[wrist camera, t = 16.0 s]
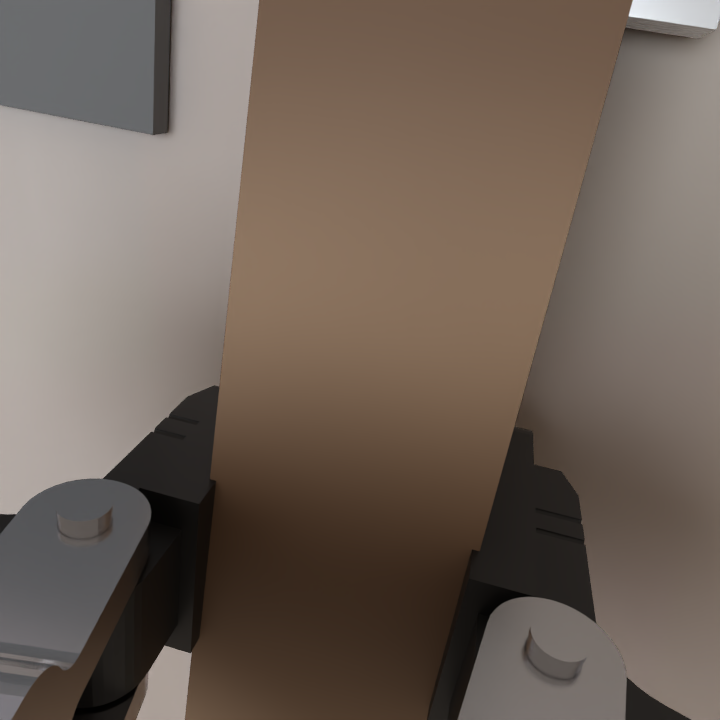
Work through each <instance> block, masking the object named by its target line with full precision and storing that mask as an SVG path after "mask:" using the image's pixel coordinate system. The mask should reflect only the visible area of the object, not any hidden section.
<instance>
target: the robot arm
mask: <svg viewBox="0 0 720 720" xmlns="http://www.w3.org/2000/svg"><path fill="white" fill-rule="evenodd" d="M218 396H219V387H218V386H212V387H210V388H207V389H205V390H203V391H200V392H198V393H195V394H193V395H191V396H188V397H187V398H186V399H185V400H184V401H182V402H181V403H180V404H179V405H178V406H177V407H176V408H175V409H174V410H173V411H172V412H171V413H170V415H169V418H167V417H166V418H165V419H164V420H163V421H162V422H161V423H160V424H159V425H158V426H157V427H156V428H155V431H154V432H151V433H150V434H149V435H147V436H146V437H145V438H144V439H143V440H142V441H141V442H140V443H139V444H138V445H137V446H136V447H135V448H134V449H133V450H132V451H131V452H130V453H129V454H128V455H127V456H126V457H125V458H124V459H123V460H122V461H121V462H120V463H119V464H118V465H117V466H116V467H115V468H114V469H112V470H111V471H110V472H109V473H108V474H107V475H106V476H105V477H104V478H103V479H82V480H75V481H70V482H65V483H62V484H59V485H56V486H53V487H51V488H48V489H46V490H44V491H43V492H41V493H39V494H37V495H36V496H34V497H33V498H32V499H30V500H29V501H28V502H27V503H26V504H25V505H24V506H23V507H22V508H21V510H20V511H19V512H18V513H17V514H10V515H6V514H0V720H136V718H137V715H138V713H139V710H140V708H141V705H142V703H143V700H144V698H145V695H146V691H147V687H148V671H149V670H150V668H151V666H152V665H153V663H154V662H155V660H156V658H157V657H158V655H159V653H160V652H161V650H162V649H163V647H164V645H165V646H169V647H172V648H175V649H178V650H182V651H185V652H188V653H191V652H192V650H193V648H194V646H195V645H196V643H197V641H198V639H199V637H200V628H201V618H202V609H203V600H204V590H205V581H206V572H207V562H208V553H209V544H210V535H211V525H212V516H213V507H214V497H215V488H216V481H215V480H211V479H210V473H211V464H212V454H213V444H214V435H215V425H216V415H217V406H218ZM581 520H582V518H581V511H580V503H579V496H578V494H577V493H576V491H575V490H574V489H573V487H572V486H571V484H570V483H569V482H568V480H567V479H566V477H565V476H564V475H563V473H562V472H561V471H557V470H553V469H549V468H545V467H541V466H537V465H534V455H533V433H532V431H530V430H526V429H522V428H518V427H514V429H513V433H512V437H511V440H510V444H509V447H508V451H507V455H506V458H505V462H504V465H503V469H502V473H501V476H500V480H499V483H498V487H497V491H496V494H495V498H494V501H493V505H492V509H491V512H490V516H489V519H488V523H487V527H486V530H485V534H484V537H483V541H482V545H481V548H480V551H476V550H473V549H472V551H471V554H470V558H469V562H468V565H467V569H466V573H465V576H464V580H463V584H462V587H461V591H460V595H459V598H458V602H457V606H456V609H455V613H454V617H453V620H452V624H451V628H450V631H449V635H448V639H447V642H446V646H445V650H444V653H443V657H442V661H441V664H440V668H439V672H438V675H437V679H436V683H435V686H434V690H433V694H432V697H431V701H430V705H429V709H428V716H427V720H691V719H689V718H687V717H685V716H683V715H682V714H680V713H678V712H676V711H674V710H673V709H671V708H669V707H667V706H665V705H664V704H662V703H660V702H659V701H657V700H655V699H654V698H652V697H651V696H649V695H648V694H647V693H645V692H644V691H642V690H641V689H640V688H638V687H637V686H636V685H635V684H634V683H633V682H632V681H630V680H629V679H628V678H627V677H626V668H625V664H624V661H623V658H622V656H621V654H620V652H619V650H618V648H617V647H616V645H615V644H614V642H613V641H612V639H611V638H610V637H609V636H608V635H607V634H606V633H605V631H604V630H603V629H601V628H600V627H599V626H598V625H597V624H596V619H595V612H594V605H593V598H592V590H591V583H590V576H589V569H588V561H587V554H586V547H585V545H584V532H583V525H582V524H581Z"/></svg>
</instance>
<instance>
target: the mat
mask: <svg viewBox="0 0 720 720" xmlns="http://www.w3.org/2000/svg"><path fill="white" fill-rule="evenodd" d="M170 11H171V0H0V105H3V106H8V107H13V108H19V109H24V110H29V111H34V112H39V113H44V114H49V115H54V116H59V117H65V118H70V119H75V120H80V121H85V122H90V123H95V124H100V125H105V126H111V127H116V128H121V129H126V130H131V131H136V132H141V133H146V134H151V135H155V134H161V133H167V125H168V87H169V49H170Z"/></svg>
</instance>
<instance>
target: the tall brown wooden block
mask: <svg viewBox="0 0 720 720" xmlns="http://www.w3.org/2000/svg"><path fill="white" fill-rule="evenodd" d="M719 19H720V0H259V9H258V19H257V29H256V38H255V48H254V58H253V67H252V77H251V87H250V96H249V106H248V116H247V125H246V135H245V145H244V154H243V164H242V174H241V183H240V193H239V203H238V212H237V222H236V232H235V241H234V251H233V261H232V270H231V280H230V290H229V299H228V309H227V319H226V328H225V338H224V348H223V357H222V367H221V377H220V386H219V396H218V406H217V415H216V425H215V435H214V444H213V454H212V464H211V473H210V479H211V480H215V481H216V488H215V497H214V507H213V516H212V525H211V535H210V544H209V553H208V562H207V572H206V581H205V590H204V600H203V609H202V618H201V628H200V637H199V639H198V641H197V643H196V645H195V646H194V648H193V650H192V657H191V666H190V676H189V686H188V695H187V705H186V715H185V720H427V716H428V709H429V705H430V701H431V697H432V694H433V690H434V686H435V683H436V679H437V675H438V672H439V668H440V664H441V661H442V657H443V653H444V650H445V646H446V642H447V639H448V635H449V631H450V628H451V624H452V620H453V617H454V613H455V609H456V606H457V602H458V598H459V595H460V591H461V587H462V584H463V580H464V576H465V573H466V569H467V565H468V562H469V558H470V554H471V551H472V549H473V550H476V551H480V548H481V545H482V541H483V537H484V534H485V530H486V527H487V523H488V519H489V516H490V512H491V509H492V505H493V501H494V498H495V494H496V491H497V487H498V483H499V480H500V476H501V473H502V469H503V465H504V462H505V458H506V455H507V451H508V447H509V444H510V440H511V437H512V433H513V429H514V426H515V422H516V419H517V415H518V412H519V408H520V404H521V401H522V397H523V394H524V390H525V386H526V383H527V379H528V376H529V372H530V368H531V365H532V361H533V358H534V354H535V350H536V347H537V343H538V340H539V336H540V332H541V329H542V325H543V322H544V318H545V314H546V311H547V307H548V304H549V300H550V296H551V293H552V289H553V286H554V282H555V278H556V275H557V271H558V268H559V264H560V260H561V257H562V253H563V250H564V246H565V243H566V239H567V235H568V232H569V228H570V225H571V221H572V217H573V214H574V210H575V207H576V203H577V199H578V196H579V192H580V189H581V185H582V181H583V178H584V174H585V171H586V167H587V163H588V160H589V156H590V153H591V149H592V145H593V142H594V138H595V135H596V131H597V127H598V124H599V120H600V117H601V113H602V109H603V106H604V102H605V99H606V95H607V92H608V88H609V84H610V81H611V77H612V74H613V70H614V66H615V63H616V59H617V56H618V52H619V48H620V45H621V41H622V38H623V34H624V30H625V28H631V29H637V30H644V31H650V32H657V33H663V34H670V35H676V36H683V37H689V38H696V39H699V38H701V37H703V36H705V35H707V34H709V33H711V32H713V31H714V30H716V29H717V26H718V23H719Z"/></svg>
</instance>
